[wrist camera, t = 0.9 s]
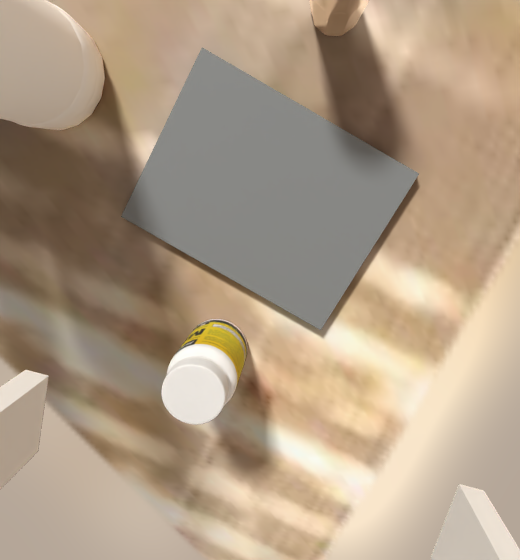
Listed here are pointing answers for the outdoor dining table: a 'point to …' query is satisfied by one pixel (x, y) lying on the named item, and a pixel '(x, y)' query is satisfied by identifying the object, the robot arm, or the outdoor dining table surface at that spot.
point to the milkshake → (336, 15)
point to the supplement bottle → (204, 372)
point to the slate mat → (266, 190)
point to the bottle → (46, 66)
